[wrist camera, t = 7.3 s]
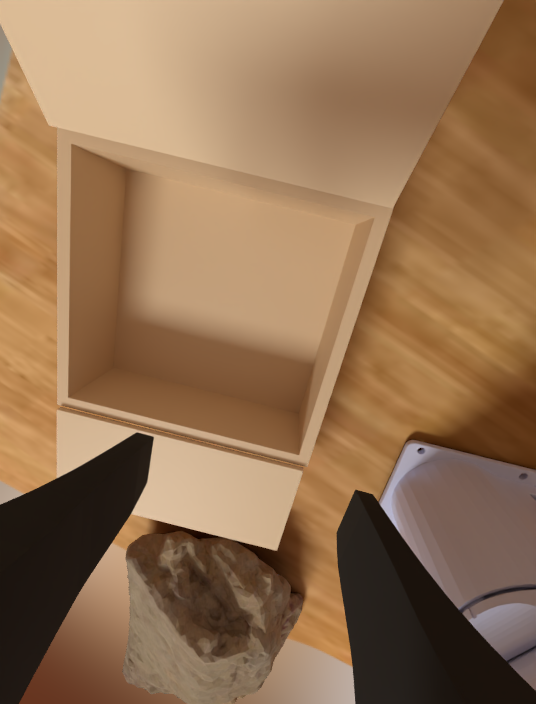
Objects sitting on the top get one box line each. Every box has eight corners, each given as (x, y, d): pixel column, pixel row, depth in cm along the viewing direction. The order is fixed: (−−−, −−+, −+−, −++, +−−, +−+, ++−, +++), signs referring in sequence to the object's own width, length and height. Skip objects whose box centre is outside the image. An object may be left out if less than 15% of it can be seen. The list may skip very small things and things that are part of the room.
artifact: (319, 525, 26) (146, 488, 27) (325, 623, 18) (87, 566, 20) (283, 680, 30) (136, 642, 31) (276, 806, 23) (86, 752, 24)
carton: (367, 216, 17) (396, 203, 12) (283, 486, 24) (280, 551, 19) (122, 157, 17) (51, 120, 12) (105, 442, 24) (53, 494, 19)
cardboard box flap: (392, 208, 12) (392, 202, 12) (523, -37, 7) (520, -42, 7) (48, 125, 12) (54, 120, 12) (-98, -182, 7) (-86, -183, 7)
